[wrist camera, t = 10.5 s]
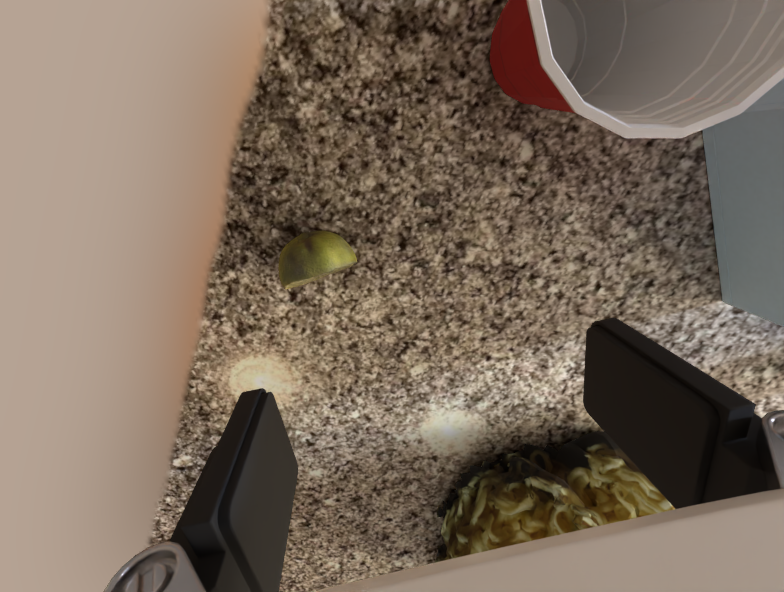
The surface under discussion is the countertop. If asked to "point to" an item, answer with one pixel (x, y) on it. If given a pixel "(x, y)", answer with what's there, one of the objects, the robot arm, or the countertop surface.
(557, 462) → the ramen
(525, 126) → the countertop surface
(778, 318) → the open box
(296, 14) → the countertop surface
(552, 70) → the plastic cup
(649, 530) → the robot arm
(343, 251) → the lime
